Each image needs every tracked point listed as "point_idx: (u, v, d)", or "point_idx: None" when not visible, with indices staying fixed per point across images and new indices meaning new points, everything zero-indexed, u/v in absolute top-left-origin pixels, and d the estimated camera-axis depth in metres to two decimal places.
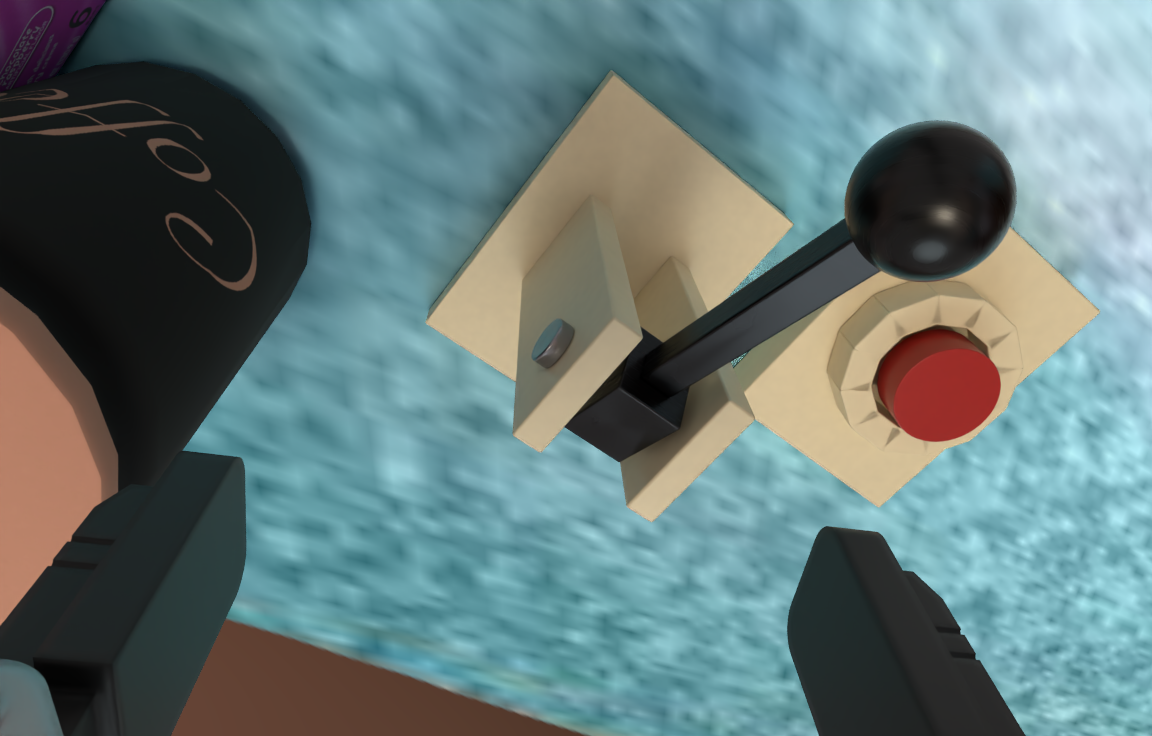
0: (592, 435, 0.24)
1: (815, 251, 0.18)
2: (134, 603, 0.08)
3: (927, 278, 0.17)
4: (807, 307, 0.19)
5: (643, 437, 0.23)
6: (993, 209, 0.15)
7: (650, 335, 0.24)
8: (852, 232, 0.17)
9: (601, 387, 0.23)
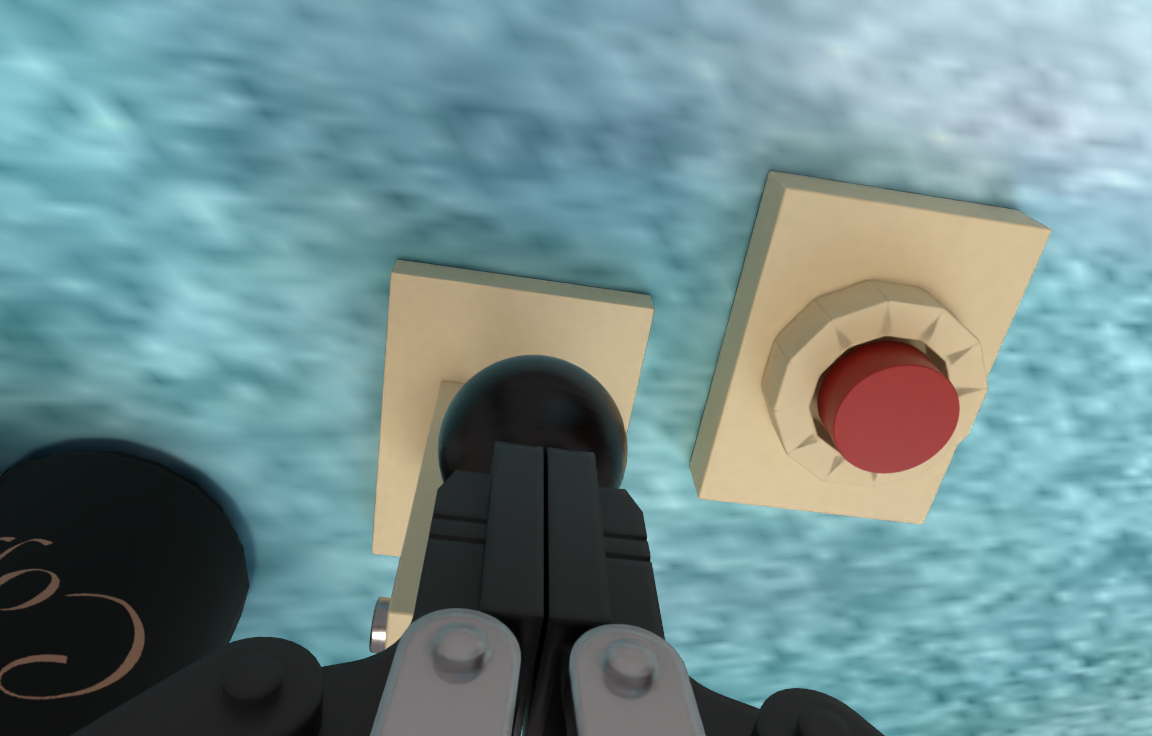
0: None
1: None
2: (532, 568, 0.10)
3: None
4: None
5: None
6: None
7: None
8: None
9: None
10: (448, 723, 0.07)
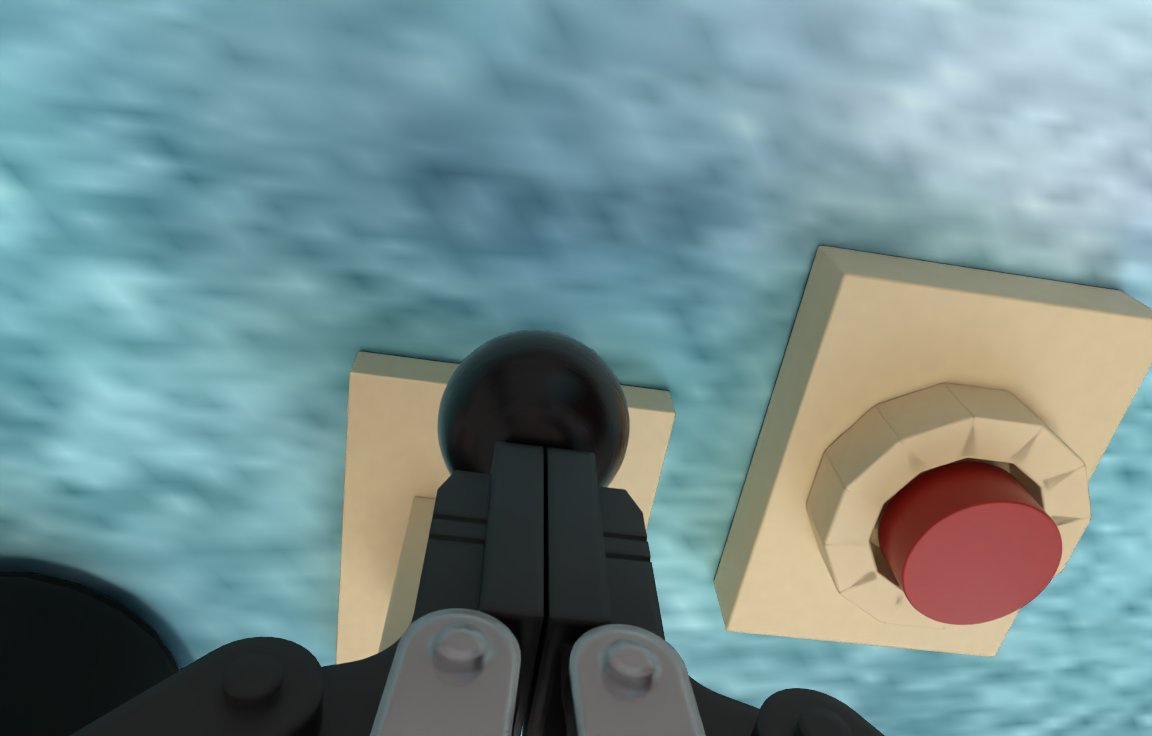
0: None
1: None
2: (532, 568, 0.10)
3: None
4: None
5: None
6: (565, 379, 0.13)
7: None
8: None
9: None
10: (448, 723, 0.07)
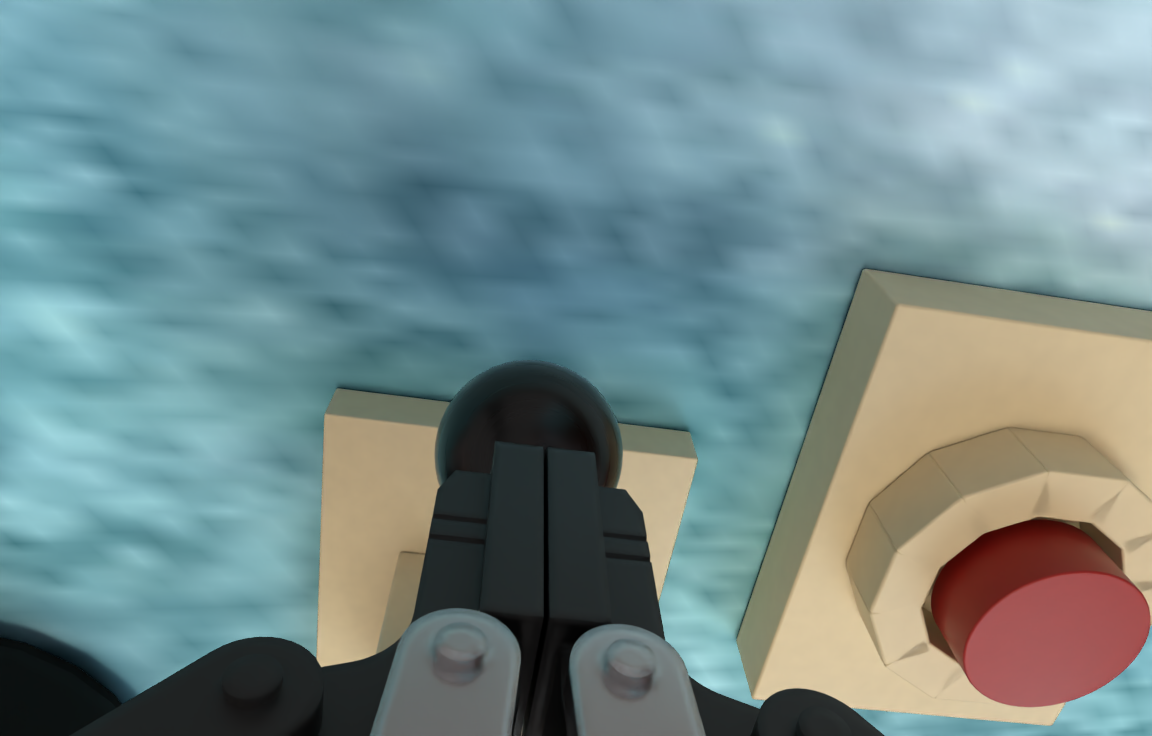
0: None
1: None
2: (532, 568, 0.09)
3: None
4: None
5: None
6: (560, 386, 0.13)
7: None
8: None
9: None
10: (448, 723, 0.07)
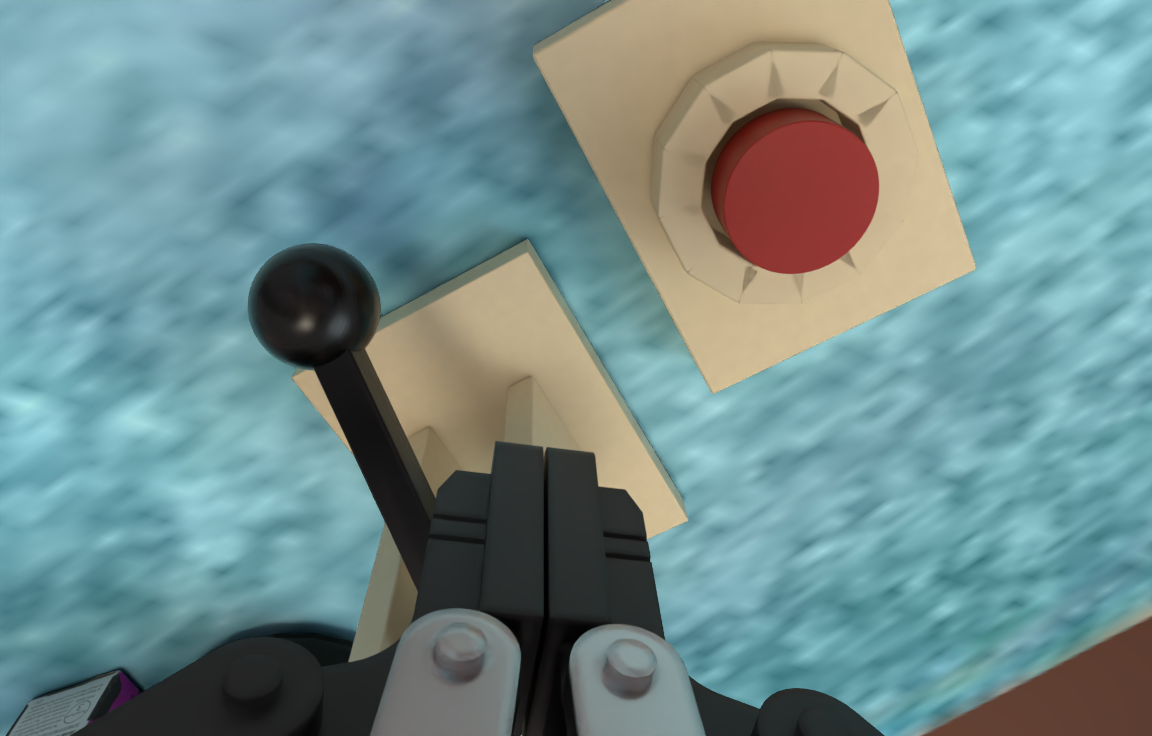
0: None
1: None
2: (532, 568, 0.10)
3: (318, 311, 0.20)
4: (375, 426, 0.20)
5: None
6: (284, 255, 0.20)
7: None
8: (292, 363, 0.20)
9: None
10: (448, 723, 0.07)
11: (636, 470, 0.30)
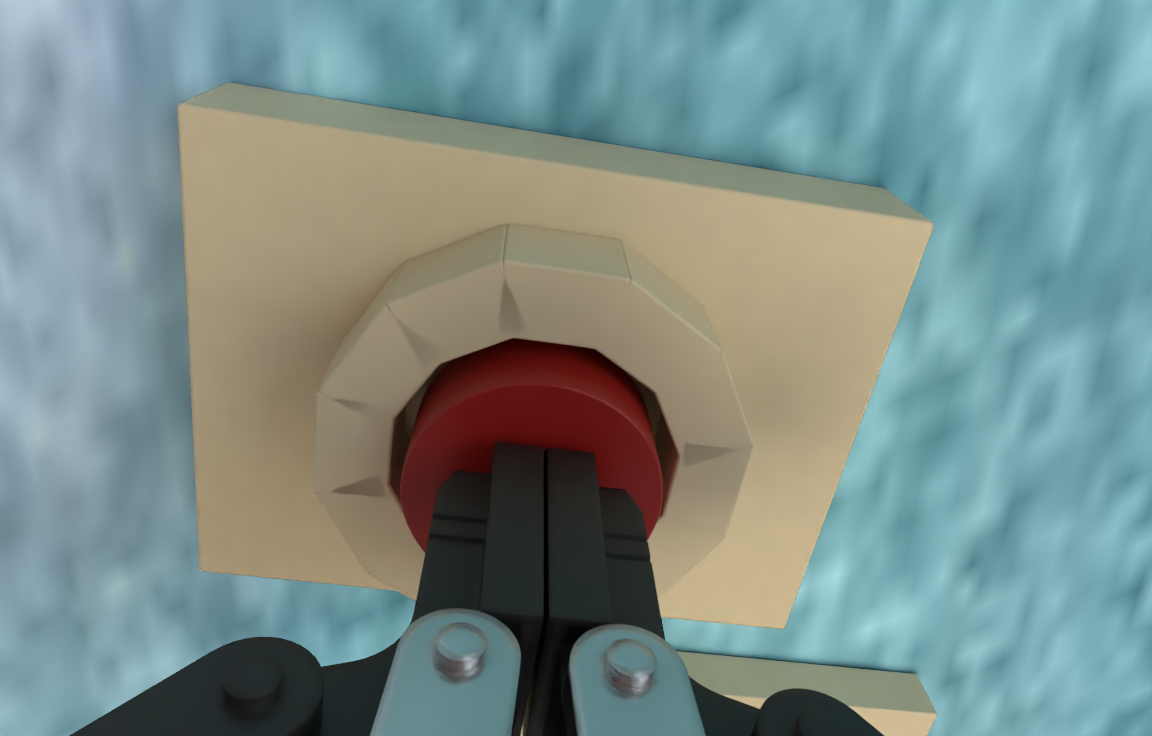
0: None
1: None
2: (532, 568, 0.09)
3: None
4: None
5: None
6: None
7: None
8: None
9: None
10: (448, 723, 0.07)
11: None
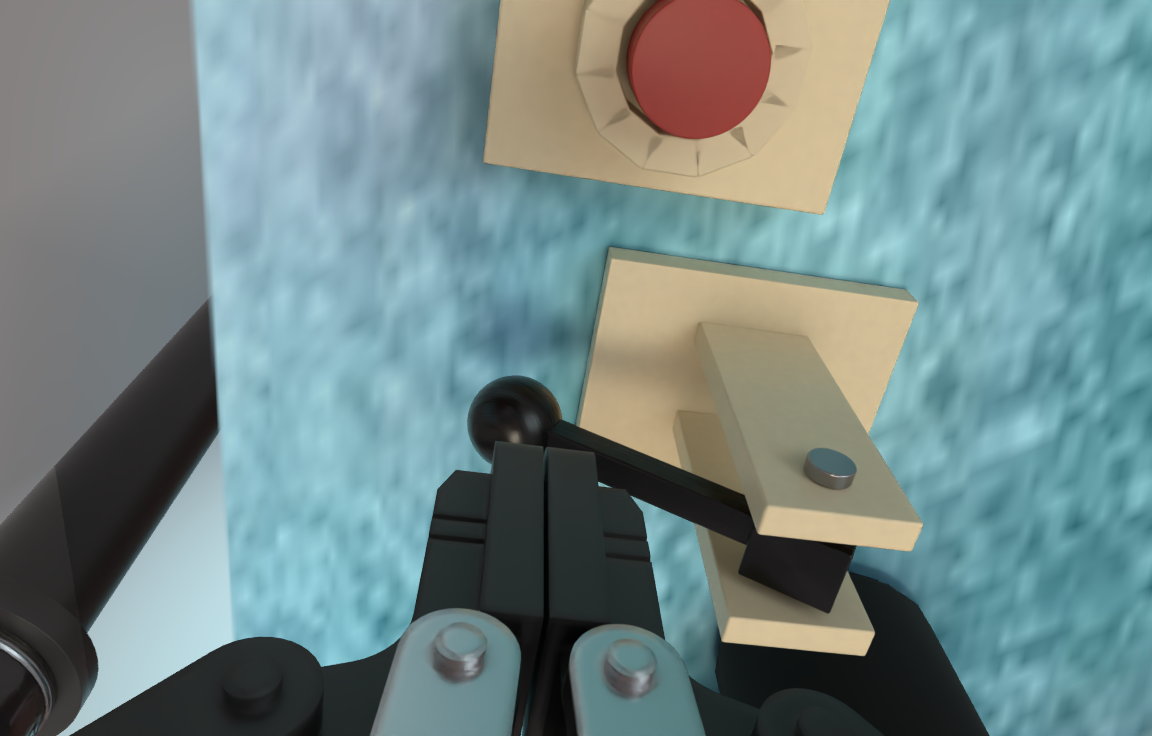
0: (823, 586, 0.24)
1: None
2: (532, 568, 0.10)
3: (508, 429, 0.27)
4: (600, 459, 0.26)
5: (791, 543, 0.24)
6: (469, 414, 0.28)
7: None
8: None
9: None
10: (448, 723, 0.07)
11: (839, 308, 0.32)
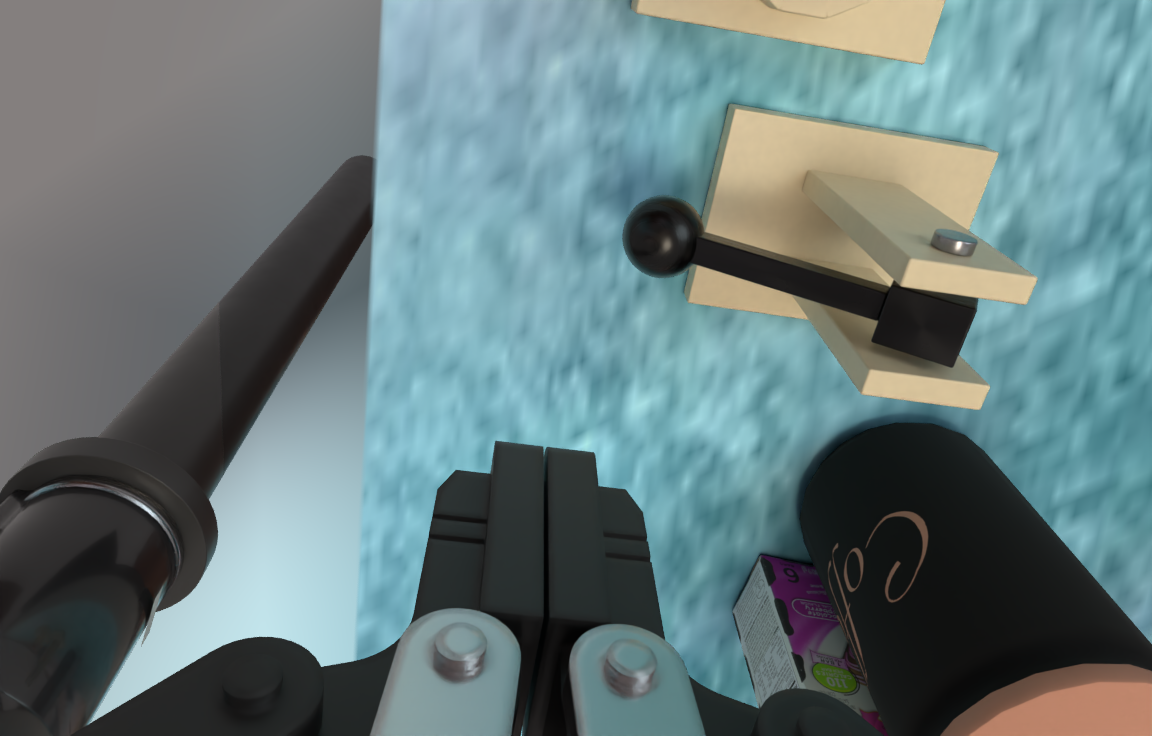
0: (948, 342, 0.28)
1: None
2: (532, 568, 0.10)
3: (666, 231, 0.31)
4: (745, 257, 0.31)
5: (921, 305, 0.28)
6: (627, 226, 0.32)
7: None
8: (679, 269, 0.32)
9: None
10: (448, 723, 0.07)
11: (929, 158, 0.36)
